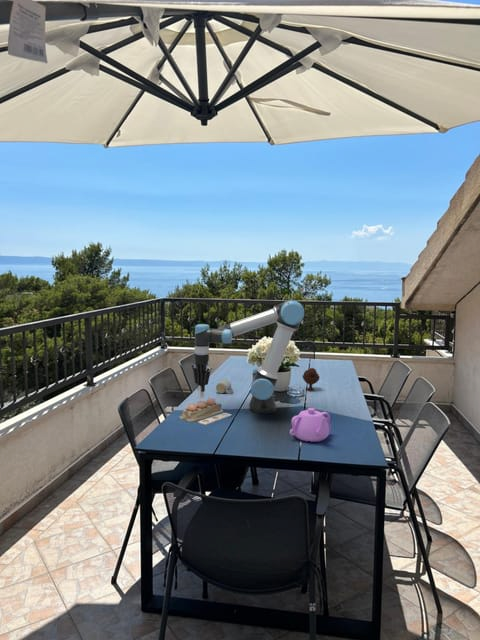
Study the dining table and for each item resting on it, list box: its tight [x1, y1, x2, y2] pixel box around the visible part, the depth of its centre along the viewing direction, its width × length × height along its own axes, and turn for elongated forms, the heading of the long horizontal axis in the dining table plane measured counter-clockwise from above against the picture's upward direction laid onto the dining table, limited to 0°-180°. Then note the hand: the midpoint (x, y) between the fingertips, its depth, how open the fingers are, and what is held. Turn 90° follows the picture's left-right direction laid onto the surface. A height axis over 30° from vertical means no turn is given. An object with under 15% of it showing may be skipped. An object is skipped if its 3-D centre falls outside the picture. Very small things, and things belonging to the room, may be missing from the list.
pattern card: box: [197, 412, 232, 426], centre depth 240 cm, size 5×20×1 cm, turn 140°
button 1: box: [187, 403, 197, 412], centre depth 240 cm, size 5×5×4 cm
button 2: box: [206, 397, 216, 406], centre depth 251 cm, size 5×5×4 cm
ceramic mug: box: [215, 379, 235, 395], centre depth 291 cm, size 11×8×8 cm
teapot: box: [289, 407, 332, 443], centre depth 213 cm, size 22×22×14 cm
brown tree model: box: [302, 367, 320, 392], centre depth 299 cm, size 11×11×15 cm
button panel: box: [178, 401, 224, 423], centre depth 246 cm, size 10×23×4 cm, turn 140°
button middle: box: [196, 400, 207, 409], centre depth 246 cm, size 5×5×4 cm
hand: (201, 397), depth 245 cm, fingers closed
